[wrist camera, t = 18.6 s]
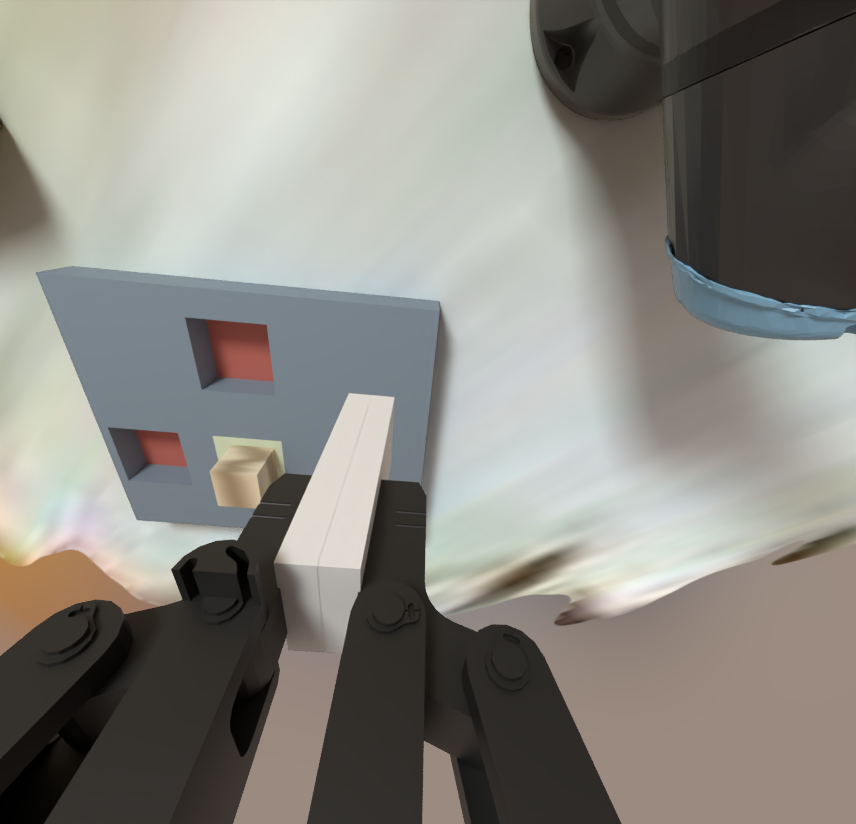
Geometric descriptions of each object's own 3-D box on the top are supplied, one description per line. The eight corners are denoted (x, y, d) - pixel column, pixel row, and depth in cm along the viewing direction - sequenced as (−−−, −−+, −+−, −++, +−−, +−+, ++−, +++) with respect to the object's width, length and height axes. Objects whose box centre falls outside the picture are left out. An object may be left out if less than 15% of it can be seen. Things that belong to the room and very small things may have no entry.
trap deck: (439, 301, 39) (439, 310, 36) (416, 519, 55) (415, 540, 52) (72, 266, 38) (35, 272, 35) (156, 499, 54) (136, 520, 50)
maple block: (274, 448, 44) (256, 475, 40) (278, 480, 47) (262, 509, 42) (231, 444, 44) (209, 471, 40) (238, 477, 46) (218, 505, 42)
